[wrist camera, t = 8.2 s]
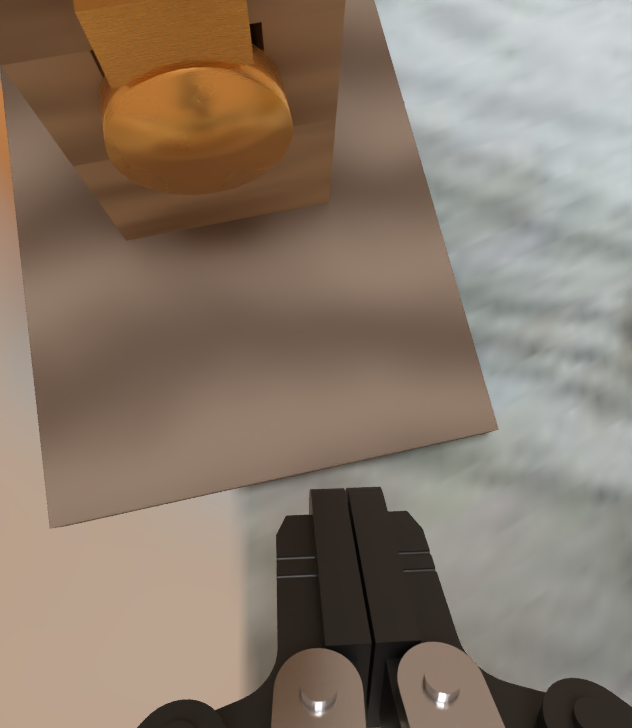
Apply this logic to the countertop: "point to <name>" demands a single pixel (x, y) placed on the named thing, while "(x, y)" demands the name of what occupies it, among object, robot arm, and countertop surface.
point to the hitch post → (231, 278)
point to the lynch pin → (186, 93)
